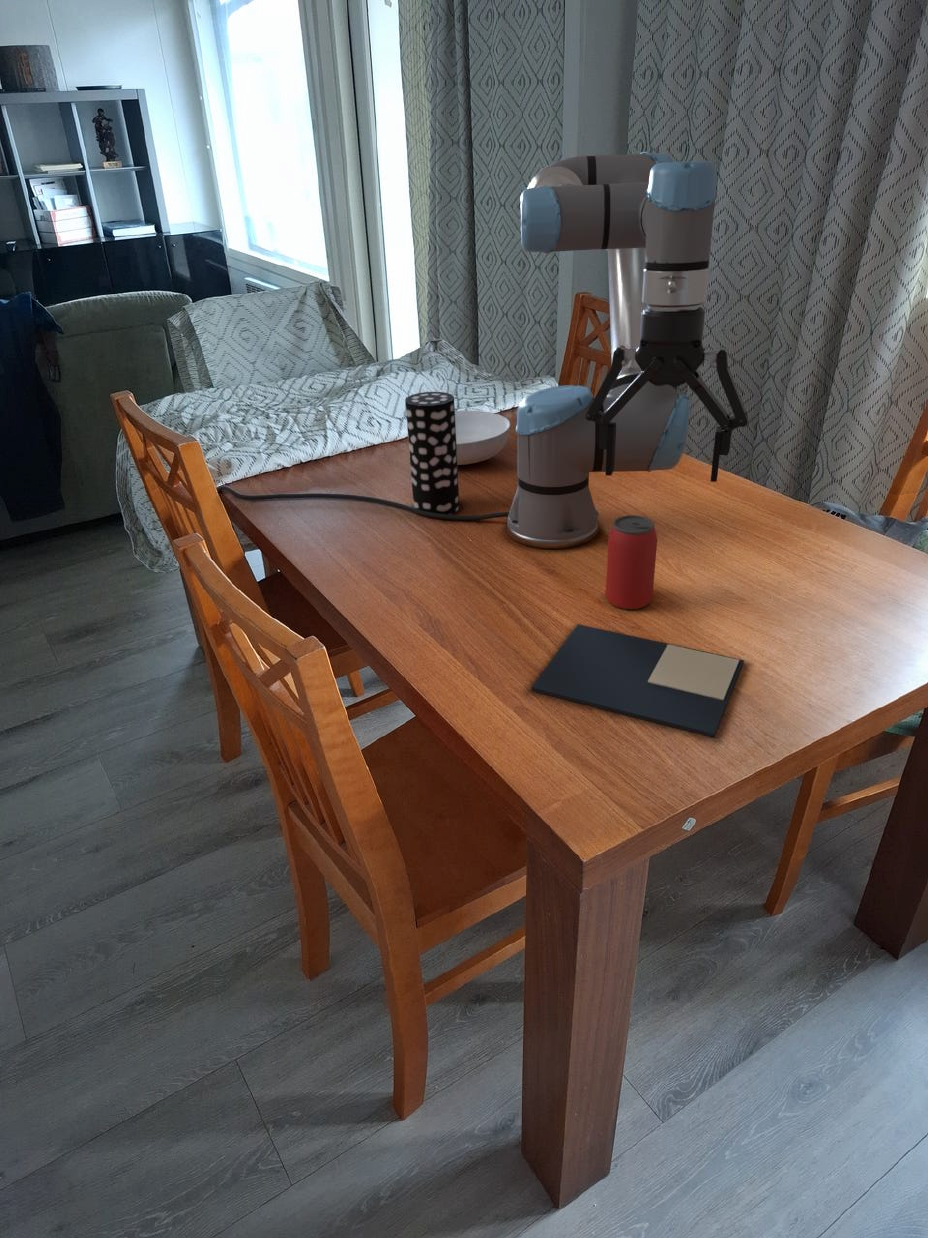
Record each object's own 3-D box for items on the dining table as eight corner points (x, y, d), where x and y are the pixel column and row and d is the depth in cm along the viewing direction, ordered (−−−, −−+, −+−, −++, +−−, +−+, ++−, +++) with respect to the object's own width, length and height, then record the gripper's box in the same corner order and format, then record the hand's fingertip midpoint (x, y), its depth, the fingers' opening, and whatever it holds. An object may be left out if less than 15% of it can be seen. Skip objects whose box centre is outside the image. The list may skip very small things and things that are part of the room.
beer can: (641, 615, 114) (647, 537, 108) (597, 604, 117) (601, 527, 111) (658, 595, 119) (665, 518, 113) (616, 585, 122) (620, 510, 116)
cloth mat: (531, 691, 100) (531, 685, 100) (577, 627, 112) (577, 622, 112) (714, 738, 91) (715, 732, 91) (743, 663, 103) (744, 658, 103)
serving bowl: (408, 445, 180) (405, 414, 177) (503, 437, 182) (502, 406, 178) (413, 479, 162) (411, 446, 159) (518, 471, 164) (518, 437, 160)
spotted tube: (406, 514, 148) (396, 403, 138) (425, 496, 155) (417, 390, 144) (448, 519, 145) (442, 407, 135) (466, 501, 152) (461, 393, 141)
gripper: (565, 310, 100) (562, 478, 110) (783, 311, 93) (759, 490, 103) (577, 302, 107) (574, 461, 117) (782, 302, 99) (760, 472, 109)
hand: (661, 475), depth 110 cm, fingers open, 13 cm apart
